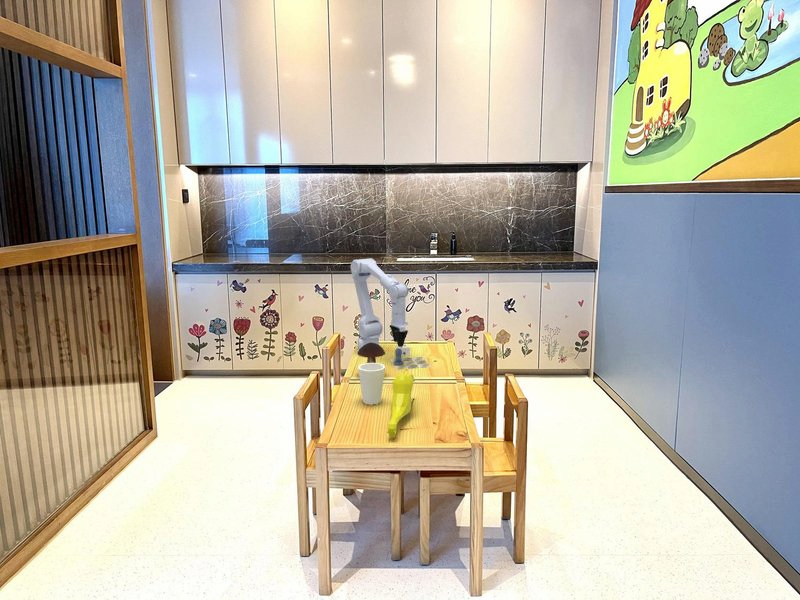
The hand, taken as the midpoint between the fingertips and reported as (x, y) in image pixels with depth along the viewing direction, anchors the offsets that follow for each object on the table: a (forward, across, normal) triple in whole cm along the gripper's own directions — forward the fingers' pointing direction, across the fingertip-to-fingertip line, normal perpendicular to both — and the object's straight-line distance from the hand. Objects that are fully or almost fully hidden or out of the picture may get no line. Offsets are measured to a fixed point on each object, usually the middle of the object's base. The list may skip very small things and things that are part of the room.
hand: (398, 344), depth 240 cm
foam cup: (+10, -37, +18) cm, 42 cm away
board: (+10, 0, -5) cm, 11 cm away
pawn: (+9, 0, 0) cm, 9 cm away
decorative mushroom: (+10, -13, +14) cm, 22 cm away
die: (+10, +13, -5) cm, 17 cm away
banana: (+10, -53, +11) cm, 55 cm away
